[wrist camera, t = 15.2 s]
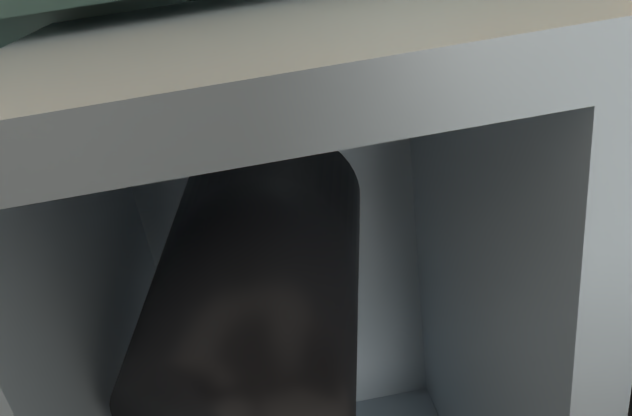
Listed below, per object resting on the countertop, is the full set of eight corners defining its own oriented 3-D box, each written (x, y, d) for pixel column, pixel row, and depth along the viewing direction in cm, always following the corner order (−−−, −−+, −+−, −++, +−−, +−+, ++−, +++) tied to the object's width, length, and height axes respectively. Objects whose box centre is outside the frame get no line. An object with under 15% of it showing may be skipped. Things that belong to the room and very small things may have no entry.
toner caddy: (450, 478, 15) (573, 792, 9) (216, 527, 14) (205, 882, 9) (425, -36, 9) (686, 5, 4) (51, 23, 9) (-222, 158, 4)
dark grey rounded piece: (368, 248, 10) (367, 478, 7) (216, 256, 11) (159, 477, 8) (349, 115, 8) (338, 355, 5) (167, 133, 9) (66, 361, 6)
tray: (524, 487, 16) (571, 577, 14) (146, 566, 16) (131, 673, 13) (549, -131, 10) (647, -151, 7) (-110, -33, 9) (-226, -23, 7)
